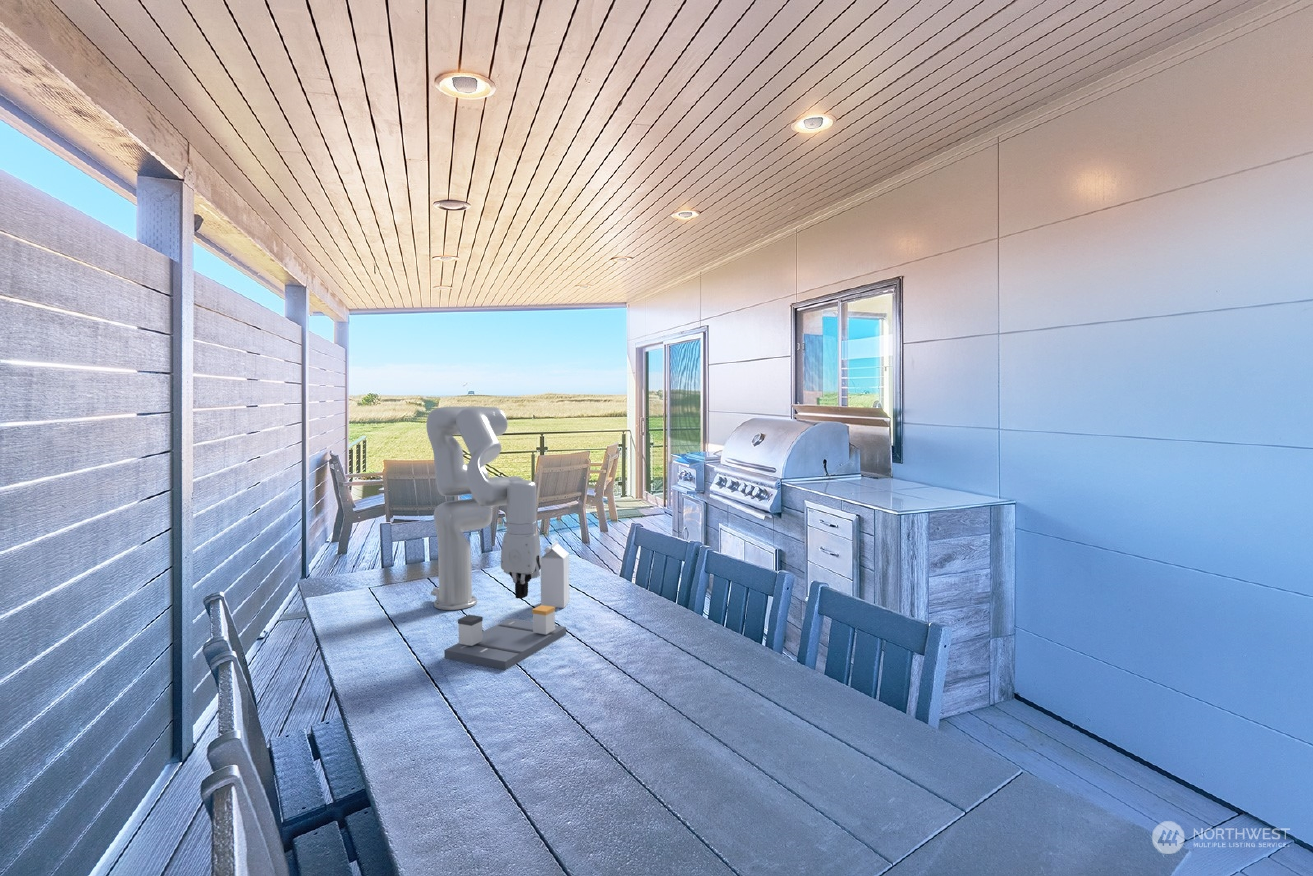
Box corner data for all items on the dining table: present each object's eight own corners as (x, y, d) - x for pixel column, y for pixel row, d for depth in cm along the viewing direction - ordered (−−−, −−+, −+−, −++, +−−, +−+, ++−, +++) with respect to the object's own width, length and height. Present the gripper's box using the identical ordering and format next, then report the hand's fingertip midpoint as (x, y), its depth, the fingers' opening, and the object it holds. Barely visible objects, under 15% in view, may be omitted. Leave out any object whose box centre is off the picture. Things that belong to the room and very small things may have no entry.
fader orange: (532, 632, 174) (532, 609, 174) (541, 627, 178) (541, 605, 178) (546, 634, 173) (545, 611, 172) (555, 629, 177) (555, 606, 176)
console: (444, 658, 164) (444, 649, 164) (510, 625, 187) (510, 617, 187) (505, 670, 156) (505, 661, 156) (566, 634, 180) (566, 626, 180)
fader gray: (458, 643, 167) (457, 619, 166) (469, 638, 171) (469, 614, 170) (471, 646, 165) (471, 621, 165) (483, 640, 169) (482, 616, 169)
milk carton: (569, 601, 209) (568, 540, 208) (564, 608, 202) (563, 545, 201) (547, 600, 210) (546, 540, 209) (540, 608, 203) (539, 545, 202)
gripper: (489, 528, 176) (489, 597, 178) (537, 534, 170) (537, 605, 172) (507, 522, 183) (507, 589, 185) (554, 528, 177) (553, 597, 179)
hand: (521, 597), depth 178 cm, fingers closed
